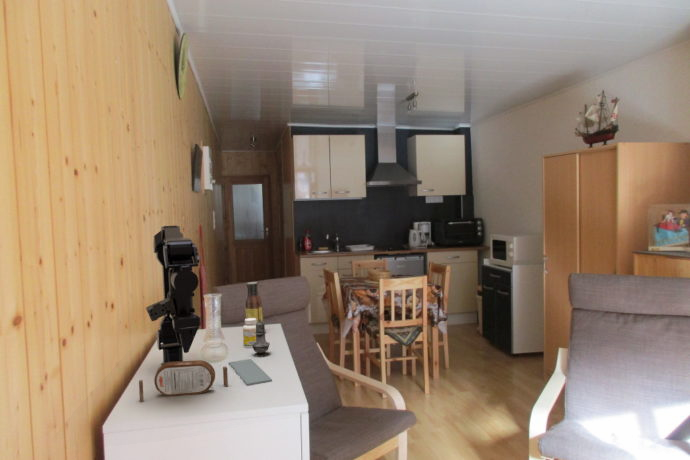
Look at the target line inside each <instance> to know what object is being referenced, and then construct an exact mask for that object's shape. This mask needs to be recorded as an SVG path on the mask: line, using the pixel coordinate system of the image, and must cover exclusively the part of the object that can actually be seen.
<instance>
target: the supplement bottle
mask: <svg viewBox="0 0 690 460" xmlns="http://www.w3.org/2000/svg"><path fill="white" fill-rule="evenodd" d="M256 322H257V321H256V318H247V319H246V318H245V319H244V325H243V327H242V334H243V335H242V336H243V340H242V341H243V347H244V348H245V349H253V346H252V344H253V343H255V342H256V334H255V332H256Z"/></svg>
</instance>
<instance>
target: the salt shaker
mask: <svg viewBox="0 0 690 460" xmlns="http://www.w3.org/2000/svg"><path fill="white" fill-rule="evenodd" d="M265 327H266V326H265V322H264V321H263V322H262V321H261V319H259V322H257V323H256V332H255V334H256V342H255V343H253V344H252V346H253V348H252V349H253V351H254V352H255V353H254V354H252V356H253V357H254V358H265V357H268V356H270V353H269V352H268V350H269V348H270V346H271V344H270V342H268V341H267V340H266V333H267V332H266V330H265Z"/></svg>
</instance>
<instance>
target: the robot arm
mask: <svg viewBox="0 0 690 460" xmlns="http://www.w3.org/2000/svg"><path fill="white" fill-rule="evenodd" d="M152 247H153V253H154V254H155V257H156V260H157V261H158V263H159V264H160V265H161V269H162V271H161V272H162V287H163V299H162V300H160V301H157V302H155V303H153V304H151V305H148V306H146V307H145V310H146V312H147V314H148V317H149V319H150V321H151V322H156V321H157V320H159V319H160V318H161V320H160V322H159V329H157V336H156V342H157V343H156V344H157V345H156V346H157V349H158V350H159V351H161V350H162V360H163V361H162V363H161V364H160V365H161V366H162V365H163V364H165V363H167V362H176V361H184V354H186V353H187V354H188V353H189V352H190V349H191V347H192V344H193V342H194V339H195V337H196V334H197V333H198V330H199V329H200V327H201V325H202V323H201V322H202V321H201V317H200V315H198V314H197V313H196V309H195V307H194V297H195V291H196V290H197V288H198V286H199V282H200V281H199V277H198V276H197V274H196V273H195V272H194V271H193V267H199V263H200V256H199V250H198V247H197V246H196V244H195V243H193V240H192V239H190V237H189V238H187V237H185V236H184V234H183V233H182V232H181V228H180V226H178V225H176V224H175V225H163V226H161V227H160V231H158V232H157V233H156V234H154V236H153V243H152ZM161 366H160V367H161Z"/></svg>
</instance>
